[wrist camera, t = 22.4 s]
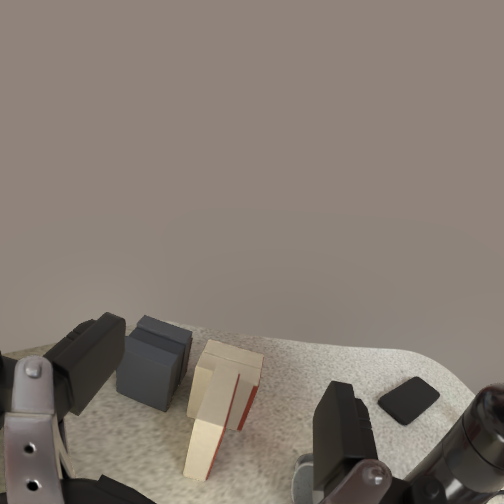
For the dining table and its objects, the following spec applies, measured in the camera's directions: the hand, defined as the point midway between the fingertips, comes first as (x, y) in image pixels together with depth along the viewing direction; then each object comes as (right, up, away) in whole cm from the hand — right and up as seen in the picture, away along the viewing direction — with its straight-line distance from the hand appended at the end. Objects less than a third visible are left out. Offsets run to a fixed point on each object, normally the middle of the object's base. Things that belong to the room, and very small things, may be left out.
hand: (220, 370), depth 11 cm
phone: (+30, -23, +34) cm, 50 cm away
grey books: (-12, -14, +27) cm, 32 cm away
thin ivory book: (-5, -18, +18) cm, 26 cm away
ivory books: (-3, -16, +27) cm, 31 cm away
